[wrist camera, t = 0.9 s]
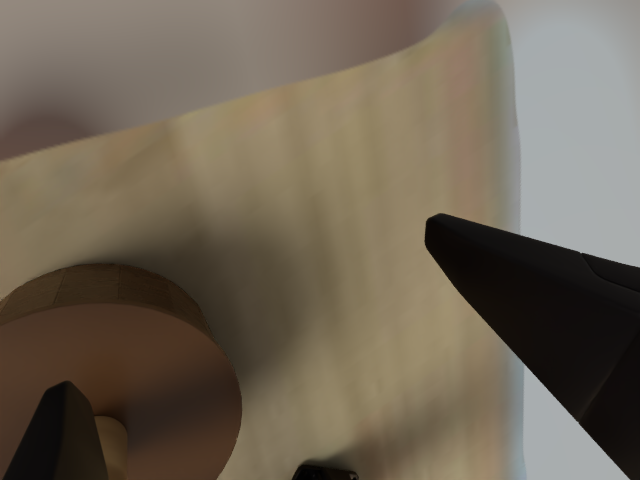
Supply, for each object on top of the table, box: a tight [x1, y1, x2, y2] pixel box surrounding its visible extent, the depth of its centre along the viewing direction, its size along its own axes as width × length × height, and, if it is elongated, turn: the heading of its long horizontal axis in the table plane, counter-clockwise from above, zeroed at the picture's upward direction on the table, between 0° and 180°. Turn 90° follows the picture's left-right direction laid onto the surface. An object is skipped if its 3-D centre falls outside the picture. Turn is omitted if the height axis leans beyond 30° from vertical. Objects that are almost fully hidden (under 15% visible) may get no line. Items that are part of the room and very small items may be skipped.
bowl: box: [0, 264, 214, 339], centre depth 24 cm, size 14×14×6 cm
